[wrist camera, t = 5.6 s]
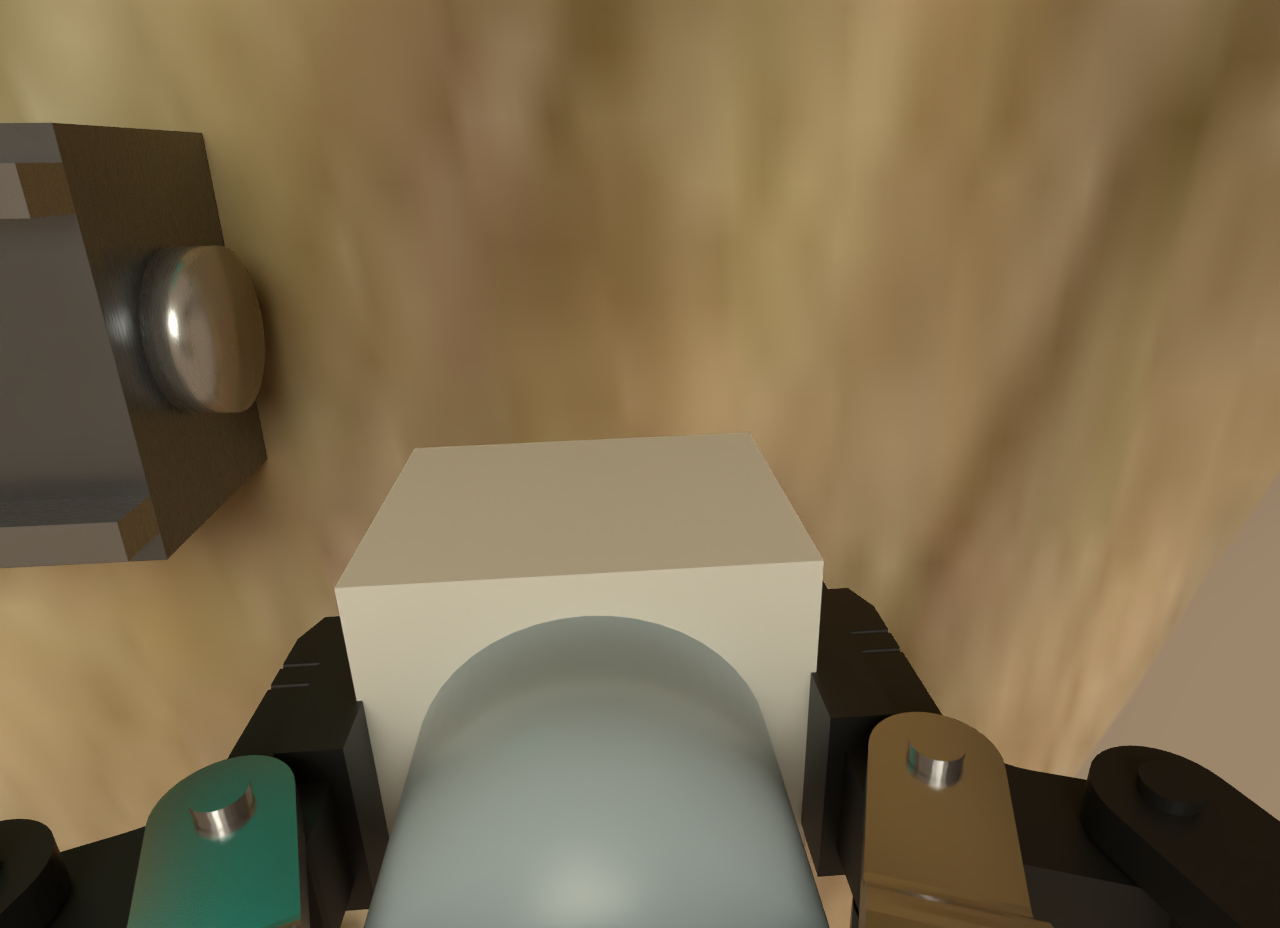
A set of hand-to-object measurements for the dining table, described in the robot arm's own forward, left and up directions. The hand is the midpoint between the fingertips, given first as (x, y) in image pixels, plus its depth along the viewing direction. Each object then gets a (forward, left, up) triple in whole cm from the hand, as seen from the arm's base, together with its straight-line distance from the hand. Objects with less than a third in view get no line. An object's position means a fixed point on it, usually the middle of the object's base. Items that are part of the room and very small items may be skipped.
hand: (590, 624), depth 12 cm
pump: (0, 0, -1) cm, 1 cm away
